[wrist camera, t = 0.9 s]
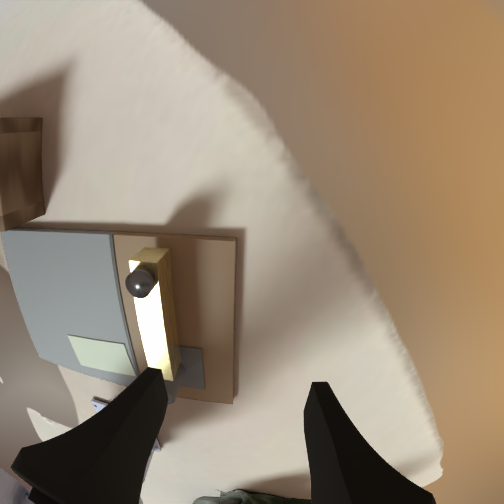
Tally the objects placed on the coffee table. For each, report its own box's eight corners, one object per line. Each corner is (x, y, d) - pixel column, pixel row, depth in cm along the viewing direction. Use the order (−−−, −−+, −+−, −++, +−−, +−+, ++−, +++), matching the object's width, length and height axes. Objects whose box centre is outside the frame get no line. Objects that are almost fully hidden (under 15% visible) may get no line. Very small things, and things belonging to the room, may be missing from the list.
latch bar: (181, 360, 20) (169, 390, 17) (160, 357, 21) (147, 386, 17) (170, 248, 17) (150, 270, 14) (144, 246, 17) (121, 267, 14)
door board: (233, 398, 24) (228, 434, 20) (43, 353, 25) (24, 375, 20) (236, 237, 18) (227, 263, 14) (5, 227, 19) (-25, 242, 15)
